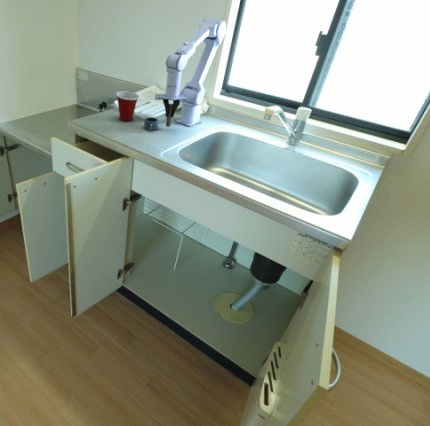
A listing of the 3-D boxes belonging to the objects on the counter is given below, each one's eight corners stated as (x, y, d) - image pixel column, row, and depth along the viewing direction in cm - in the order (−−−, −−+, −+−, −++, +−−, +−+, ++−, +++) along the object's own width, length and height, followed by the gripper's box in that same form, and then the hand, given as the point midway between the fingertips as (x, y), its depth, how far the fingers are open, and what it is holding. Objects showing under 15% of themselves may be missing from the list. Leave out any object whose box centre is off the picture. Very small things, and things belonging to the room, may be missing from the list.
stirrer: (167, 124, 150) (170, 103, 144) (171, 126, 149) (174, 104, 143) (165, 125, 149) (167, 104, 143) (168, 127, 148) (171, 105, 142)
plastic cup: (129, 125, 152) (131, 99, 145) (110, 119, 156) (111, 94, 149) (141, 119, 159) (143, 94, 152) (123, 114, 164) (124, 89, 157)
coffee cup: (144, 125, 153) (145, 116, 151) (157, 126, 153) (158, 117, 151) (143, 131, 146) (143, 123, 144) (157, 133, 146) (157, 124, 144)
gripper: (156, 86, 135) (153, 118, 143) (191, 88, 135) (186, 120, 143) (155, 82, 141) (152, 113, 149) (189, 84, 141) (184, 115, 149)
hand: (169, 116), depth 147 cm, fingers closed on stirrer, 2 cm apart
